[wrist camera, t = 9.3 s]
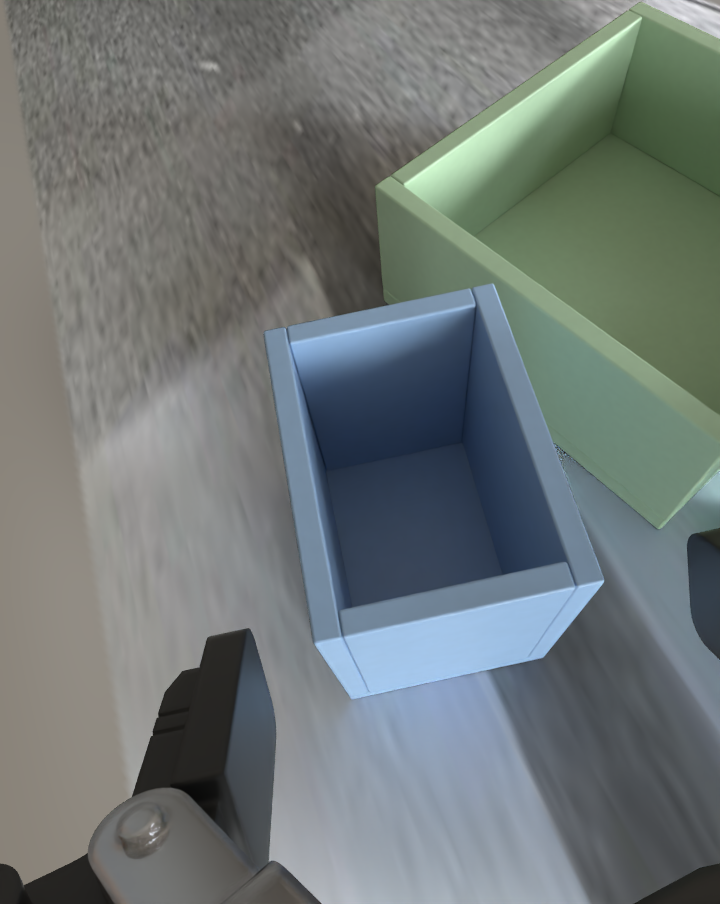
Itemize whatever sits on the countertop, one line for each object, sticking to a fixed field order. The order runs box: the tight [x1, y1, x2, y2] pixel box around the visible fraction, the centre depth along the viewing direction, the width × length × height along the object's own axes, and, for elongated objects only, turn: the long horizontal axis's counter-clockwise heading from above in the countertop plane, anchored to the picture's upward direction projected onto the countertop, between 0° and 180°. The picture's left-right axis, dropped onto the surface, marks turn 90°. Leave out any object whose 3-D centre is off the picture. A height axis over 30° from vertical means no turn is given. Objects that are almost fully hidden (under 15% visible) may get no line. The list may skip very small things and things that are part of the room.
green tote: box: [375, 2, 720, 529], centre depth 24 cm, size 13×13×6 cm
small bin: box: [263, 283, 604, 699], centre depth 19 cm, size 6×8×8 cm
